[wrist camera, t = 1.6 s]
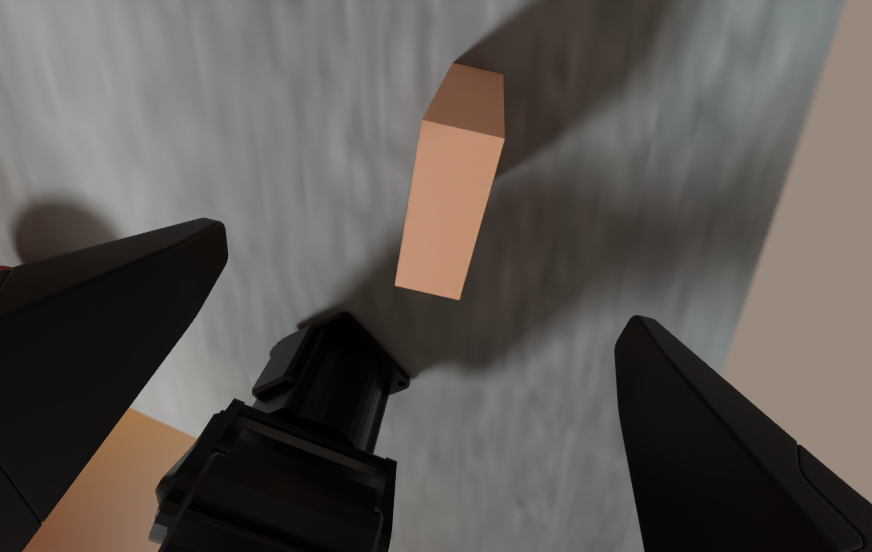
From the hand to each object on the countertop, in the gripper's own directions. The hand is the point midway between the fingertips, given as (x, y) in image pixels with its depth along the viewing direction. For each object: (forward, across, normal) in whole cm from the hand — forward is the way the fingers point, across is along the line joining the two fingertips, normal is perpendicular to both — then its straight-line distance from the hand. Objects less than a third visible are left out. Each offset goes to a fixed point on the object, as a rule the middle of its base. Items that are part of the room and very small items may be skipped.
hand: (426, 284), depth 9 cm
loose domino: (+11, 0, 0) cm, 11 cm away
